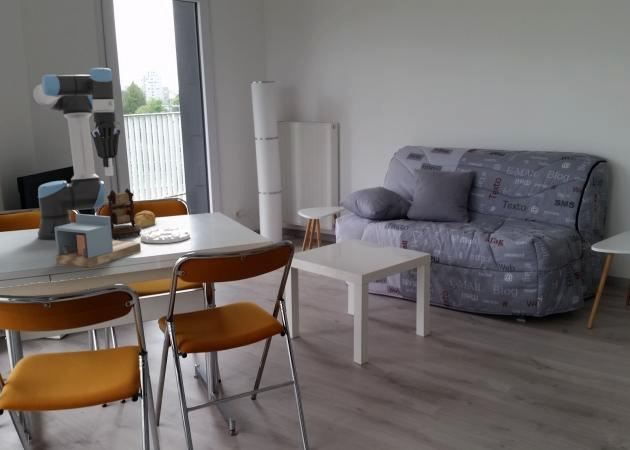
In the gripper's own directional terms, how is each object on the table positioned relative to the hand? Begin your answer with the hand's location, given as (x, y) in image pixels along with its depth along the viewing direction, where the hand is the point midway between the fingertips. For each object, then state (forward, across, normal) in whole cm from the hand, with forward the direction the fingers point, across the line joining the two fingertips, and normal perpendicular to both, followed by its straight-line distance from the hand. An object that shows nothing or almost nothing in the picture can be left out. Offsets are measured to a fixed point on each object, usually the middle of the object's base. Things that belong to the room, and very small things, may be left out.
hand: (109, 175), depth 236 cm
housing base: (+29, -8, 0) cm, 30 cm away
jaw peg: (+29, -14, 0) cm, 33 cm away
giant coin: (+30, +26, -3) cm, 40 cm away
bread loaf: (+30, +46, +26) cm, 61 cm away
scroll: (+30, +24, +18) cm, 42 cm away
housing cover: (+26, -15, 0) cm, 30 cm away
